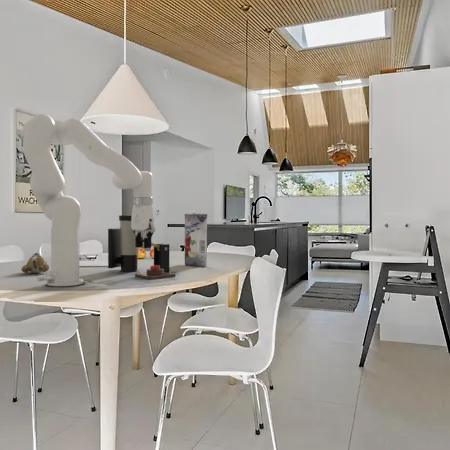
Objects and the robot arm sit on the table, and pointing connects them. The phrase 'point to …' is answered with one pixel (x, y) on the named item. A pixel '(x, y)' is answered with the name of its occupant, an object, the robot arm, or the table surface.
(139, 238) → the switch lever
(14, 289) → the table surface
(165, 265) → the switch bracket
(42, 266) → the ceramic sculpture
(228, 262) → the table surface
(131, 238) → the light fixture
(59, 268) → the robot arm
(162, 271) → the button block
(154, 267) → the button
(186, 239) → the juice carton
